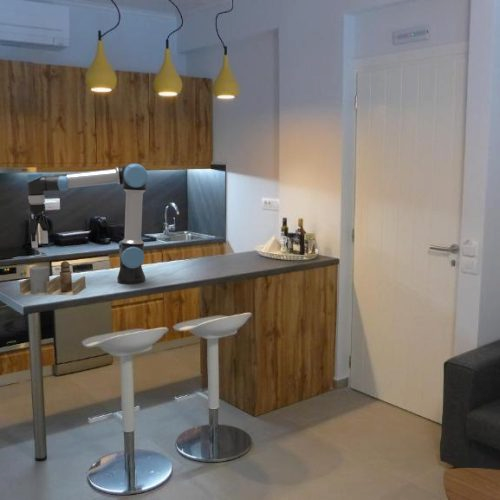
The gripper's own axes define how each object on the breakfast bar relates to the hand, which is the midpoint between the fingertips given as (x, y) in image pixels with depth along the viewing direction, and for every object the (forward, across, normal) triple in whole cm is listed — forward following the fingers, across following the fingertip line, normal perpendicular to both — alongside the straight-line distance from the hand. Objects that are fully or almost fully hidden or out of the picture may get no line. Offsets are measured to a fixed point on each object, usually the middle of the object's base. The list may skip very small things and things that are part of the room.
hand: (40, 245), depth 314 cm
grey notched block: (+24, +2, -1) cm, 24 cm away
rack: (+24, +1, +6) cm, 25 cm away
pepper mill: (+24, +1, +12) cm, 26 cm away
